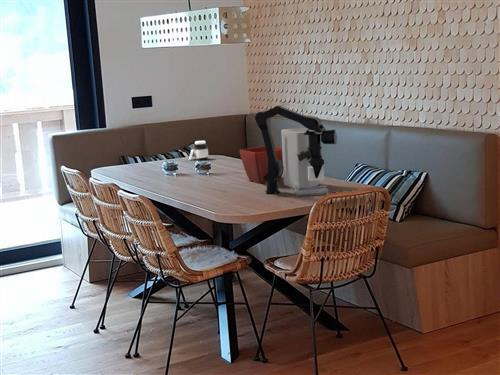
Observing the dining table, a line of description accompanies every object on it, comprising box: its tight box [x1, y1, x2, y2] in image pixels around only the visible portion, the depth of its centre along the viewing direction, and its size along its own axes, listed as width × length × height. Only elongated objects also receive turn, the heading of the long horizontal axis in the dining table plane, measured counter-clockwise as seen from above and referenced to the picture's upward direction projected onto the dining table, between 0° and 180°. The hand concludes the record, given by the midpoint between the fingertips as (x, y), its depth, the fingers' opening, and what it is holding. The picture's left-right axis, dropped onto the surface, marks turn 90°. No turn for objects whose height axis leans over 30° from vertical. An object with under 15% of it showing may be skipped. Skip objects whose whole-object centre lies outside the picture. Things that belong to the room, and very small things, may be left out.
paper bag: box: [280, 128, 320, 189], centre depth 384 cm, size 19×15×28 cm
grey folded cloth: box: [294, 185, 329, 197], centre depth 366 cm, size 10×15×4 cm, turn 92°
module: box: [308, 166, 325, 181], centre depth 364 cm, size 5×7×7 cm
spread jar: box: [188, 140, 209, 161], centre depth 493 cm, size 12×11×12 cm
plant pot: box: [239, 145, 283, 184], centre depth 405 cm, size 19×19×17 cm
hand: (315, 177), depth 365 cm, fingers closed on module, 5 cm apart
